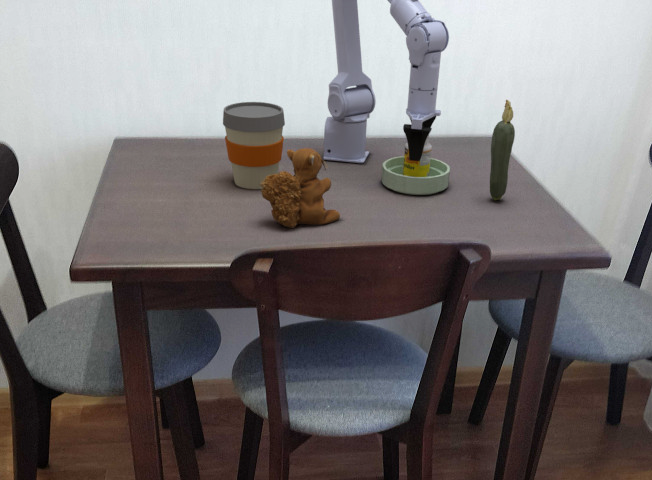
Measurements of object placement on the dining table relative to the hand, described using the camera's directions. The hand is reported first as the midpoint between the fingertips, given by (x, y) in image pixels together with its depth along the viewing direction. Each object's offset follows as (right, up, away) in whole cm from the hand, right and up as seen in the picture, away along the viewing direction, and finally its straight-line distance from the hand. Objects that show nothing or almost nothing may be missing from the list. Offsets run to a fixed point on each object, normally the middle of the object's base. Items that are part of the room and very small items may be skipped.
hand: (417, 154), depth 161 cm
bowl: (0, -5, +4) cm, 6 cm away
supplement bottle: (0, -5, +3) cm, 6 cm away
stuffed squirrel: (-24, -17, -15) cm, 33 cm away
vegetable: (+15, -11, -3) cm, 19 cm away
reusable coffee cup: (-34, -5, +2) cm, 35 cm away
